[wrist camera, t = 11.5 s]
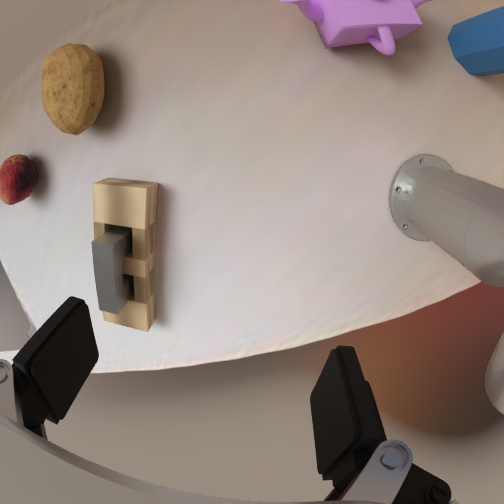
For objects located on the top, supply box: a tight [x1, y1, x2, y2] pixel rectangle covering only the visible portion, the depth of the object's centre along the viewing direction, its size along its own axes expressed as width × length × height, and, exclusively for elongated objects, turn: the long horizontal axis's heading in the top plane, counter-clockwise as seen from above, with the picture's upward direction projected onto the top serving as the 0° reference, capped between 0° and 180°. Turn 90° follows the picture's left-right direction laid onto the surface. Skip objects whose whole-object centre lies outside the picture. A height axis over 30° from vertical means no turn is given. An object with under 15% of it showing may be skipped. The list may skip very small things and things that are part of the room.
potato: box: [42, 44, 104, 135], centre depth 26 cm, size 10×14×8 cm
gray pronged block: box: [92, 225, 134, 315], centre depth 35 cm, size 10×3×8 cm, turn 171°
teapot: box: [280, 0, 431, 56], centre depth 20 cm, size 15×13×11 cm
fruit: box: [0, 154, 38, 205], centre depth 31 cm, size 8×8×8 cm
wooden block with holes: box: [93, 178, 158, 332], centre depth 38 cm, size 8×22×4 cm, turn 171°
